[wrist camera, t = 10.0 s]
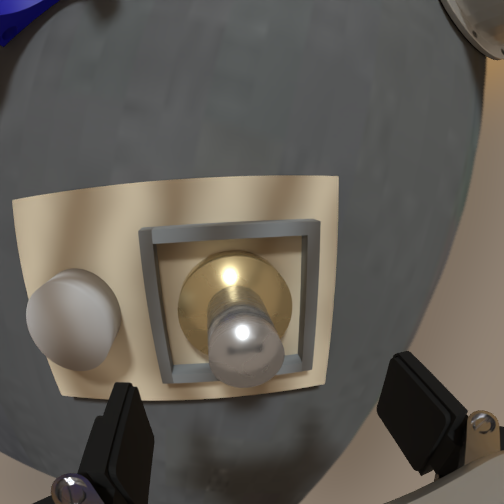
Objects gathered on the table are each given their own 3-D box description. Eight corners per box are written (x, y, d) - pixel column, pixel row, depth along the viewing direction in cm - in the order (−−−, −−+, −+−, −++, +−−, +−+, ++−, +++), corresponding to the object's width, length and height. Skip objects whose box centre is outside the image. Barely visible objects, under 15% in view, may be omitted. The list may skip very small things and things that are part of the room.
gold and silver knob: (288, 248, 19) (326, 282, 13) (284, 344, 21) (312, 403, 15) (175, 252, 18) (160, 292, 12) (184, 351, 20) (180, 415, 14)
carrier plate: (329, 176, 20) (360, 177, 16) (318, 373, 24) (338, 407, 20) (22, 198, 17) (-13, 205, 13) (67, 385, 21) (50, 417, 17)
